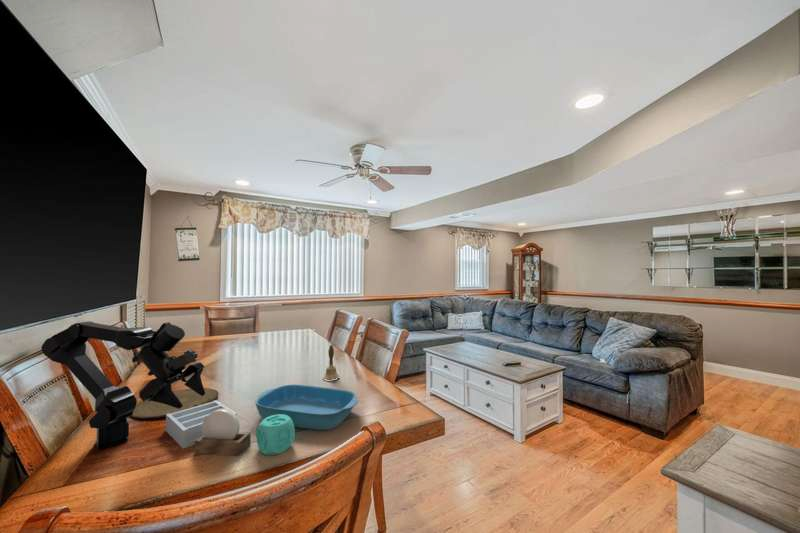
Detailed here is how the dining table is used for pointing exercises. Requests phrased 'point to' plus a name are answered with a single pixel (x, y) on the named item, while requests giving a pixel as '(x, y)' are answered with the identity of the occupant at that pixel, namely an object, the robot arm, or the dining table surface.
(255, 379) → the dining table surface
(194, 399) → the decorative disc
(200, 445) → the stand
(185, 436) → the rack
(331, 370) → the hand bell
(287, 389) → the casserole dish
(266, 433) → the decorative dice
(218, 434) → the plate
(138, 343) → the robot arm
